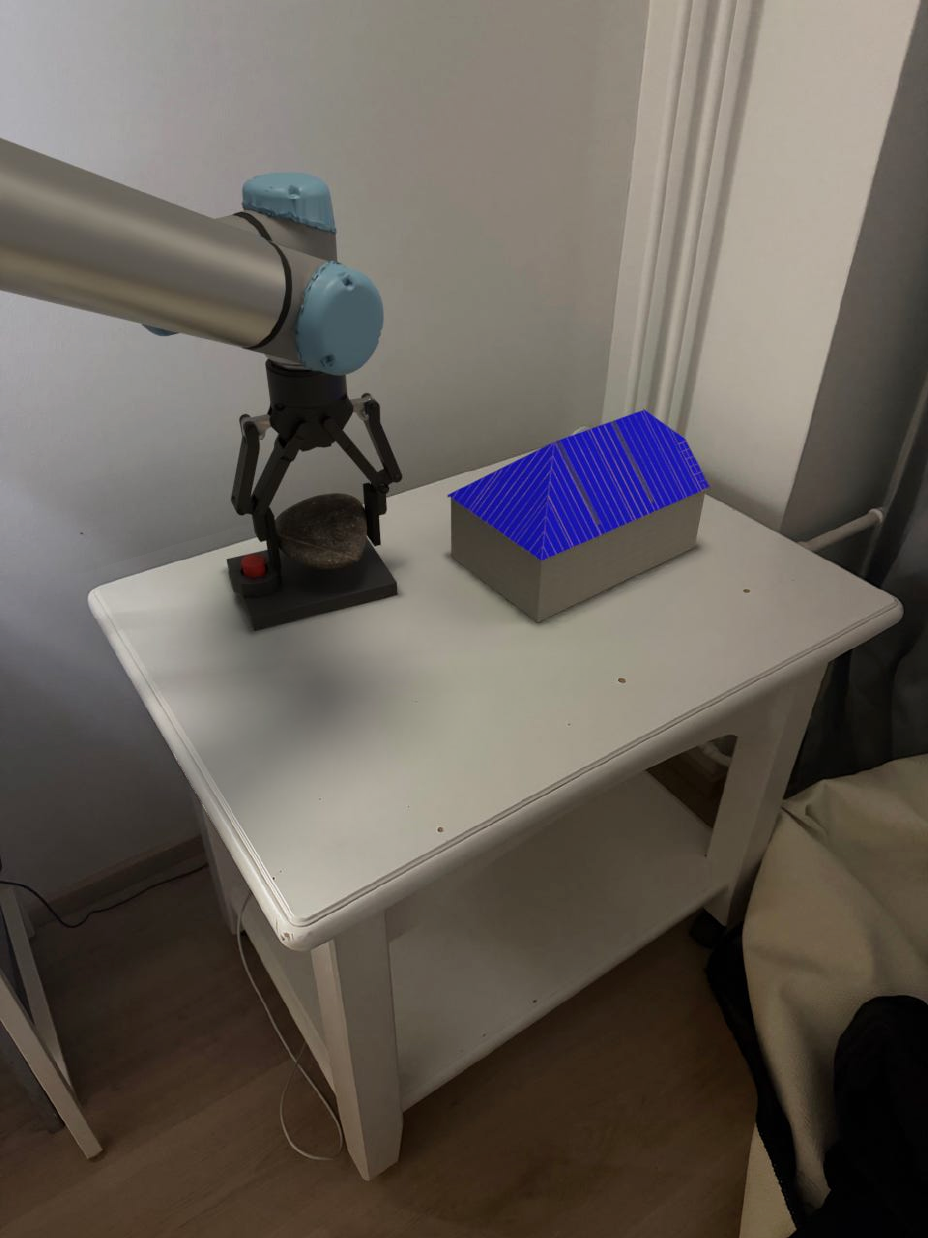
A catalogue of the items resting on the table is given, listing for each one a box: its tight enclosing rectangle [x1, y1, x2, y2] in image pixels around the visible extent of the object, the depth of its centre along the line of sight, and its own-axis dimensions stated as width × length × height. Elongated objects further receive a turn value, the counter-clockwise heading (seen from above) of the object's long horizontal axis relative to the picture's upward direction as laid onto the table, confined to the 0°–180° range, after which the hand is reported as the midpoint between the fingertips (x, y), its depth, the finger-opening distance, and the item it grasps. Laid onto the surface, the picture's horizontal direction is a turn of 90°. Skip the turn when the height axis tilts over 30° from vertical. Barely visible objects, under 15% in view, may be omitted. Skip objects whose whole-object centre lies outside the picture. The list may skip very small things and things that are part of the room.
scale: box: [226, 537, 398, 632], centre depth 98 cm, size 17×12×4 cm
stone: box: [275, 492, 368, 570], centre depth 97 cm, size 11×11×5 cm
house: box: [446, 408, 711, 623], centre depth 100 cm, size 25×16×16 cm, turn 127°
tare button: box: [242, 554, 266, 578], centre depth 95 cm, size 2×2×2 cm
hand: (325, 550), depth 98 cm, fingers closed on stone, 10 cm apart
